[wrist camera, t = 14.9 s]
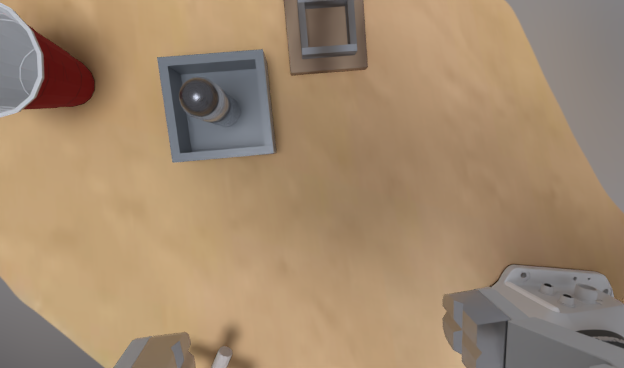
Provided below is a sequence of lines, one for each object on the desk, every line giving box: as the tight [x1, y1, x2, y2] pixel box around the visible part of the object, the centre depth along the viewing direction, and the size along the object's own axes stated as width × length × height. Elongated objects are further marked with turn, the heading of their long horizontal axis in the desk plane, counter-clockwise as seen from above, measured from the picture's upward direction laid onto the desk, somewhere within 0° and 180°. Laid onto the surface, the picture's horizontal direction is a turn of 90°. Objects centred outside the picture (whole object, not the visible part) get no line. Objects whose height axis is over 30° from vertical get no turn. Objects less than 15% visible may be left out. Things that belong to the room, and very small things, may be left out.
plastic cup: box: [0, 3, 94, 117], centre depth 32 cm, size 11×11×12 cm
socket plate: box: [284, 0, 368, 75], centre depth 38 cm, size 10×10×3 cm
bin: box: [157, 49, 276, 162], centre depth 37 cm, size 12×12×5 cm
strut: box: [179, 77, 240, 127], centre depth 33 cm, size 4×4×12 cm
